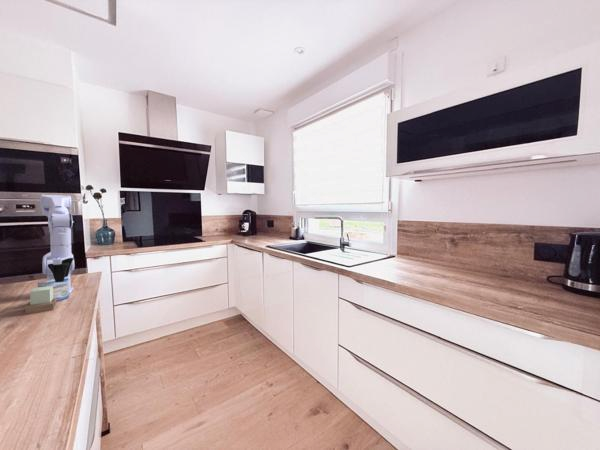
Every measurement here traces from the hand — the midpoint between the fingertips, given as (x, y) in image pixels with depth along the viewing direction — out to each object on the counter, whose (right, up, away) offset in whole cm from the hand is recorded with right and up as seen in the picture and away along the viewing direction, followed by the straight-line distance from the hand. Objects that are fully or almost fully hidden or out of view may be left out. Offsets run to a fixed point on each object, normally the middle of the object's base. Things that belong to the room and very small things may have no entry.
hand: (61, 279), depth 94 cm
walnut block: (-4, -11, -4) cm, 12 cm away
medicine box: (-7, -10, +4) cm, 13 cm away
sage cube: (-4, -8, -4) cm, 9 cm away
